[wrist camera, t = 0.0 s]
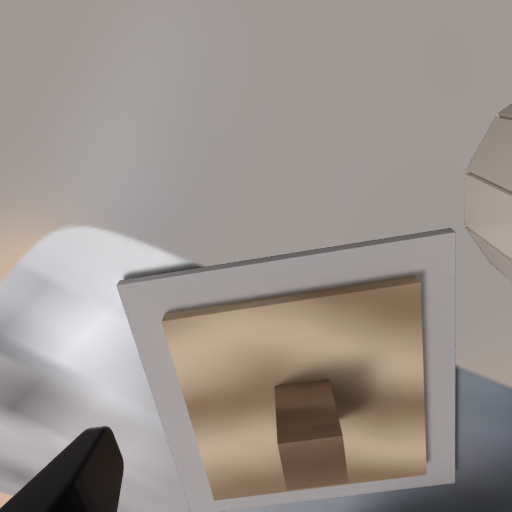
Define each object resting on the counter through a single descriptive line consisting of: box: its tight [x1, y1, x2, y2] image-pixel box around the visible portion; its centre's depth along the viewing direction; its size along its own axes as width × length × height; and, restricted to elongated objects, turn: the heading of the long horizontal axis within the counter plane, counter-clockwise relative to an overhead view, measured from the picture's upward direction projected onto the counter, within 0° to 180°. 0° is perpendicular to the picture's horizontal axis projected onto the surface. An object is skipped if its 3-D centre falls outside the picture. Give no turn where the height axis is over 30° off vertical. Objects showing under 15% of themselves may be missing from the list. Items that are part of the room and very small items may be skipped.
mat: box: [117, 228, 456, 512], centre depth 25 cm, size 17×17×1 cm
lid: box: [161, 276, 427, 501], centre depth 23 cm, size 13×13×5 cm
